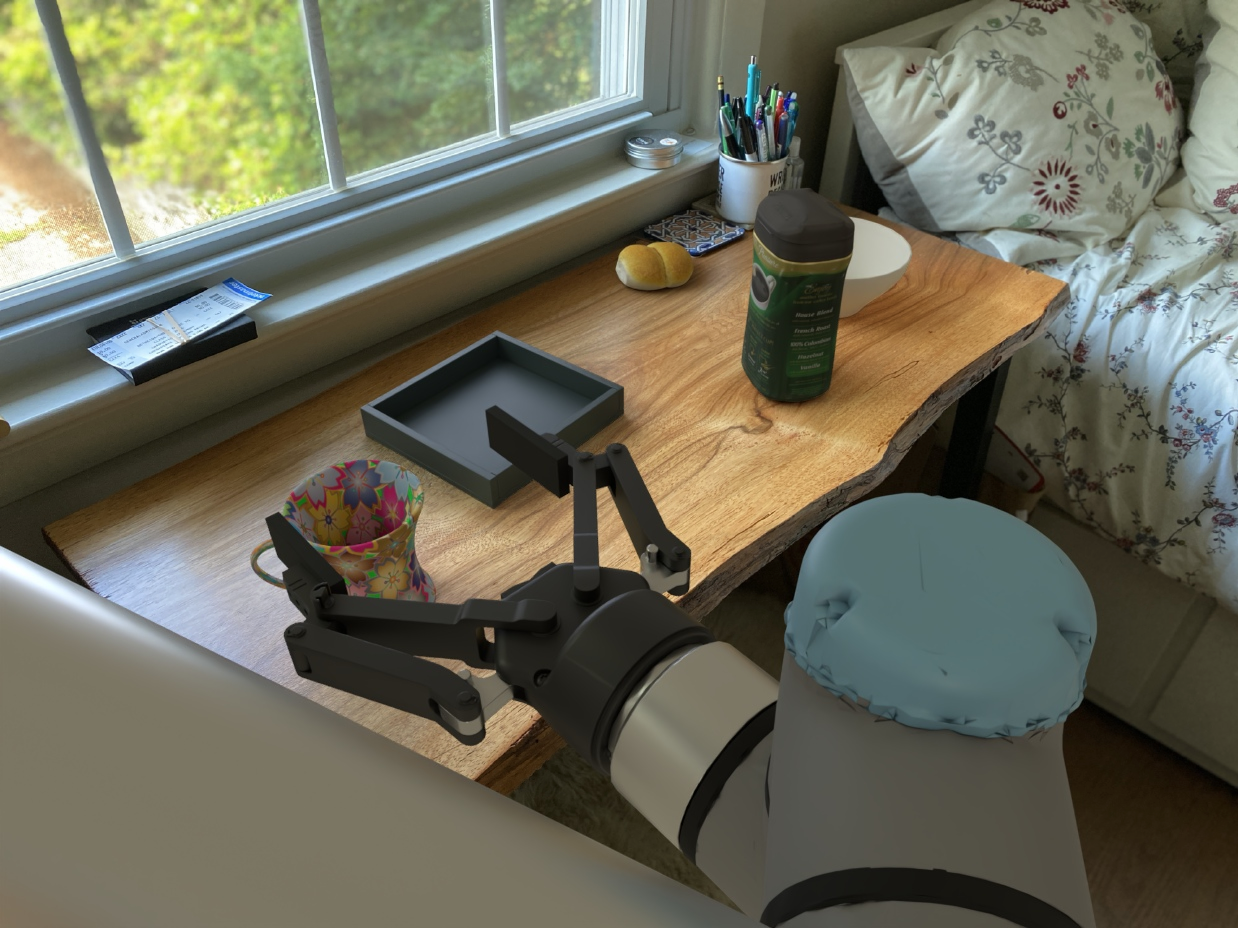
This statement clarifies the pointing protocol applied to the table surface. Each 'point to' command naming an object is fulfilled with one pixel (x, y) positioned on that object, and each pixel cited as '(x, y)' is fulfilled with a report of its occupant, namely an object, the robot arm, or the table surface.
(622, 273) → the bread roll
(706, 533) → the table surface
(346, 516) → the mug
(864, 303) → the bowl
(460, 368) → the tray
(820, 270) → the coffee jar
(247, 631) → the table surface
